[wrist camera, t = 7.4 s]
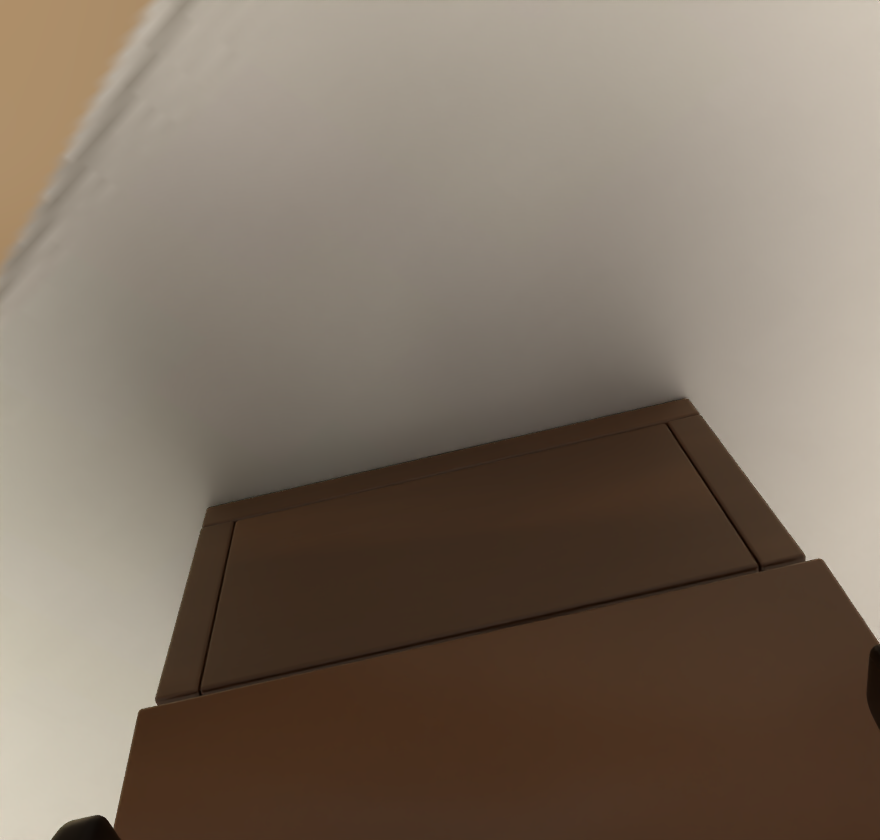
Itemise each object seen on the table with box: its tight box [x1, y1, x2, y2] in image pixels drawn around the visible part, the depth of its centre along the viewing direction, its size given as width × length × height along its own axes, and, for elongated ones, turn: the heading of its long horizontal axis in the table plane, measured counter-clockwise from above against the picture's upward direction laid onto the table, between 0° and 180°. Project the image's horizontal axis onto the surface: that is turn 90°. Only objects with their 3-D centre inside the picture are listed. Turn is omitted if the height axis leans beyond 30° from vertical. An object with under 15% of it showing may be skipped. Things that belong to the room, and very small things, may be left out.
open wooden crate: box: [155, 398, 805, 705], centre depth 20 cm, size 13×12×6 cm
